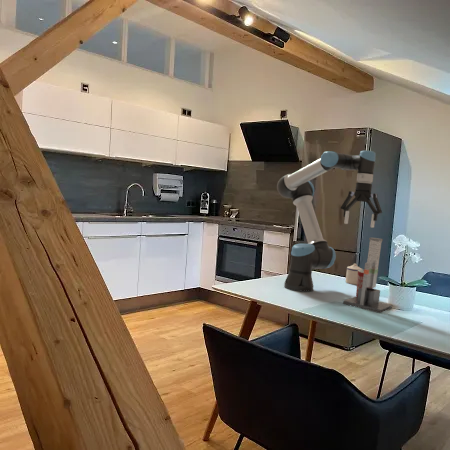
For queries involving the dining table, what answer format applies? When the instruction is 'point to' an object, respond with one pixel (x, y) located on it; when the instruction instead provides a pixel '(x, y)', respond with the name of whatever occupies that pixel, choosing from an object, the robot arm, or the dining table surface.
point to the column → (373, 260)
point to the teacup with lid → (352, 274)
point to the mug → (360, 280)
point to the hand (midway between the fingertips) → (358, 225)
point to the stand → (368, 296)
